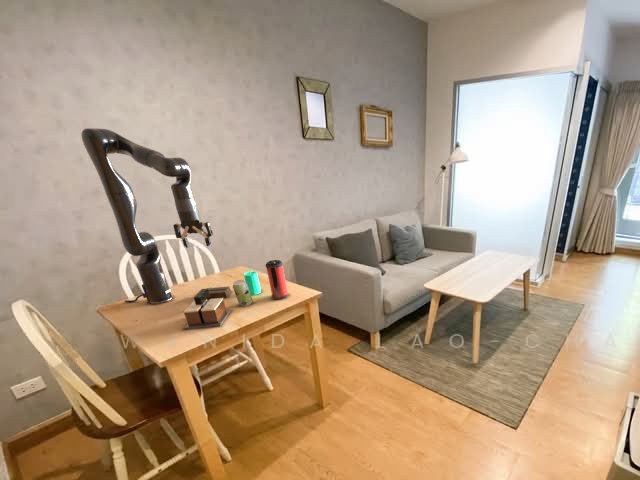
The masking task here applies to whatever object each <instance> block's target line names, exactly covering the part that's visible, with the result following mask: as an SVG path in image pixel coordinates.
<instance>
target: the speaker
mask: <svg viewBox="0 0 640 480" xmlns="http://www.w3.org/2000/svg"><path fill="white" fill-rule="evenodd" d="M265 268H266V272H267V273H266V274H267V278H268V282H269V287H270V292H271V298H272V299H274V300H283V299H285V298H287V297H288V296H289V293H288V289H287V282H286V277H285V271H284V263H283V261H281V260H280V259H272V260H269V261H267V262H266V263H265Z"/></svg>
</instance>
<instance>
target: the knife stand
mask: <svg viewBox="0 0 640 480" xmlns="http://www.w3.org/2000/svg"><path fill="white" fill-rule="evenodd" d="M206 289H208V291H209V295H210V296H209V297H208V298H207V300H210V299H217V298H223V299H226V298H228V297H229V295H230V294H231V293H232V290H231V289H232V288H231V286H217V287H216V286H215V287H207V288H206Z"/></svg>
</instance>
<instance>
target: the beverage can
mask: <svg viewBox="0 0 640 480" xmlns="http://www.w3.org/2000/svg"><path fill="white" fill-rule="evenodd" d="M232 289H233V293H234V294H235V297H236V299H237V302H238V304H239V305H240V306H243V307H245V306H246V307H247V306H249V305H251V304H252V303H253V296H252V295H251V294H250V291H249V289H248V286H247V283H246V282H245V279H237V280H235V281H234V282H233V283H232Z"/></svg>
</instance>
